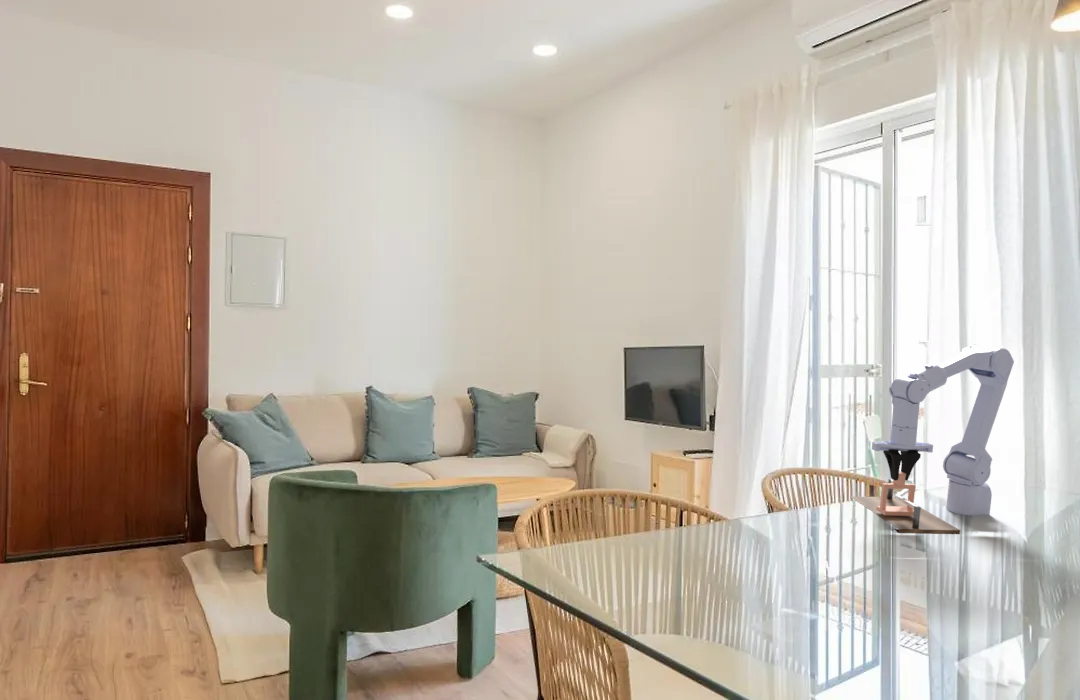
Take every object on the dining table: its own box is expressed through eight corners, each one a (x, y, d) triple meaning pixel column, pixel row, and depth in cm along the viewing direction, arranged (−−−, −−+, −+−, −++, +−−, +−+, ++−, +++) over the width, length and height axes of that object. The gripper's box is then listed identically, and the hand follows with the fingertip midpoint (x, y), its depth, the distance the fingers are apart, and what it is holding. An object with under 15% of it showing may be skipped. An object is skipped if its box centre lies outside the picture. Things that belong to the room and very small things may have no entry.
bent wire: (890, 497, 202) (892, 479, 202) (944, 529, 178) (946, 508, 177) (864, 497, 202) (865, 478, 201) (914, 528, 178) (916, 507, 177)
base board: (903, 501, 203) (903, 497, 203) (959, 534, 178) (960, 530, 178) (849, 500, 202) (850, 496, 202) (898, 533, 177) (899, 529, 177)
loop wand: (907, 510, 189) (911, 470, 188) (915, 515, 185) (920, 475, 184) (876, 509, 189) (880, 469, 188) (884, 515, 185) (888, 474, 184)
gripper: (923, 423, 189) (918, 475, 190) (867, 421, 188) (863, 474, 190) (940, 429, 182) (934, 483, 183) (882, 427, 181) (877, 482, 183)
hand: (899, 479), depth 186 cm, fingers closed on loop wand, 2 cm apart
